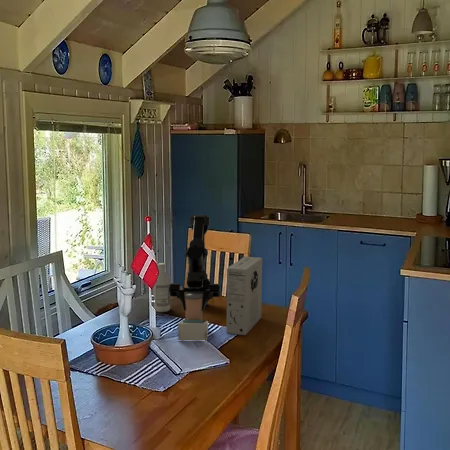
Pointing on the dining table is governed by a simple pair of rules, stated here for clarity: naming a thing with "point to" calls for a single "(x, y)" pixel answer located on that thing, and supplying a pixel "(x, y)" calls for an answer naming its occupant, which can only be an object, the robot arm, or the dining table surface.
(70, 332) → the dining table surface
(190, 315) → the grey brown rounded piece
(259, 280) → the cereal box
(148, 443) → the dining table surface
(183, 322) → the pusher paddle
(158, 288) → the bath foam
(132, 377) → the dining table surface
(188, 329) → the pusher lane
